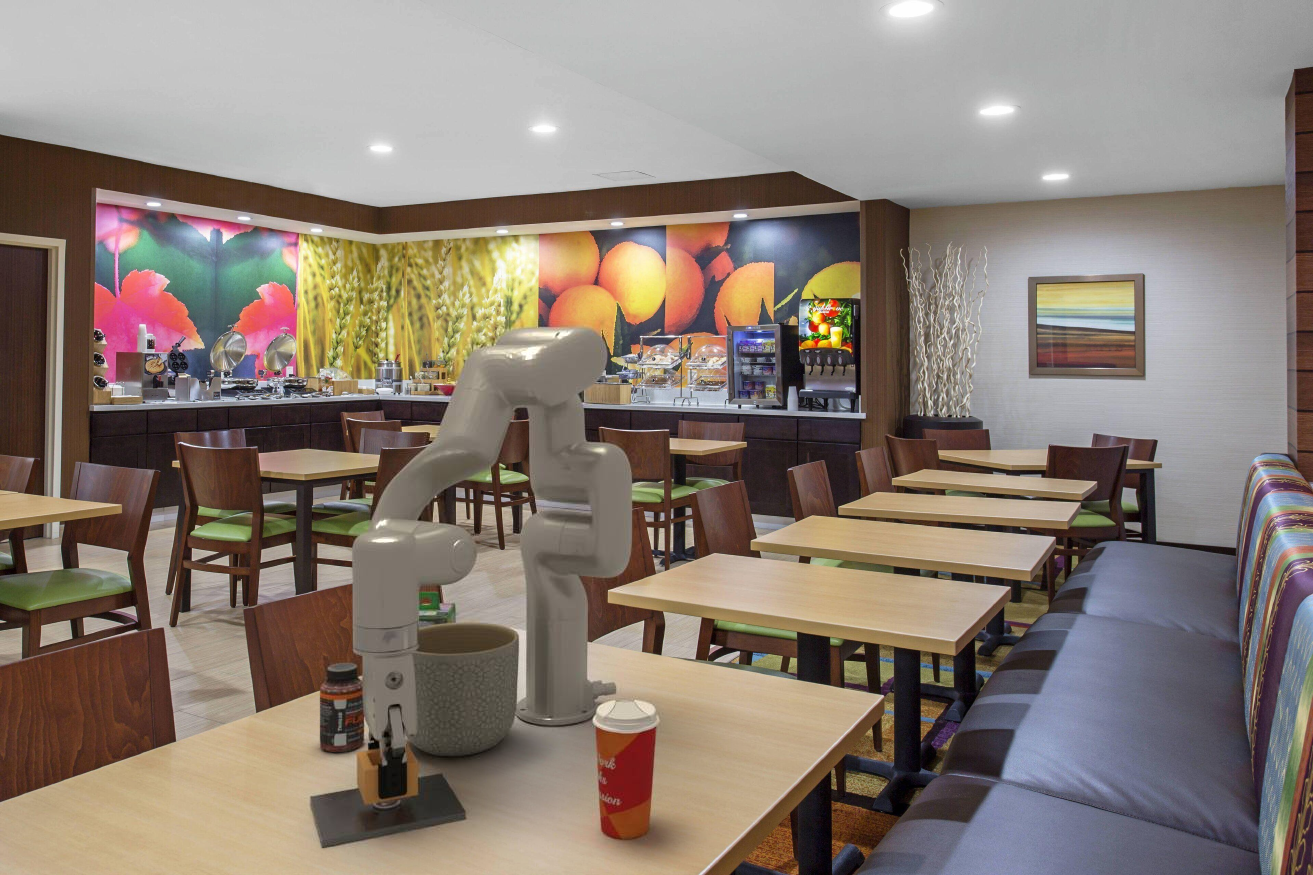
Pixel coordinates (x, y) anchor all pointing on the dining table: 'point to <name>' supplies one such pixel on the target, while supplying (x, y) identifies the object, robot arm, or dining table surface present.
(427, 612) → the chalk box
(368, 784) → the orange square collar
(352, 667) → the supplement bottle
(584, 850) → the dining table surface
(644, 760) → the paper cup
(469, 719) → the planter
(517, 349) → the robot arm
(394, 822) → the keeper plate
